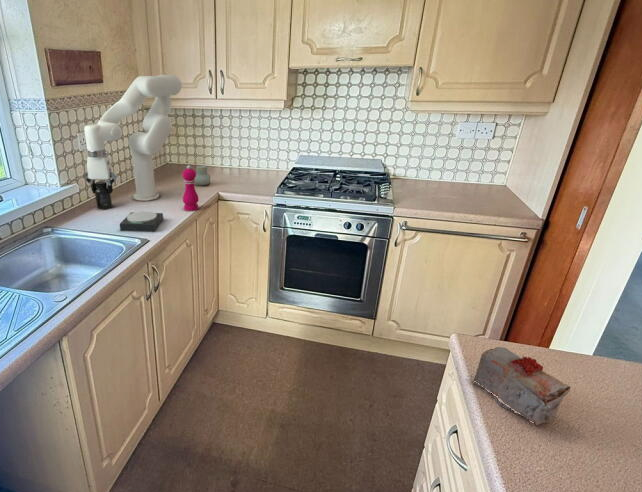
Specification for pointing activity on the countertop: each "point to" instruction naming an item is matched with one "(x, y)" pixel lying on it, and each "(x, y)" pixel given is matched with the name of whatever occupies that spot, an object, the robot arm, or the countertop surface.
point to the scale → (141, 221)
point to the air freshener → (202, 176)
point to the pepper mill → (190, 190)
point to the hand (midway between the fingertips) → (102, 192)
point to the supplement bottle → (102, 195)
